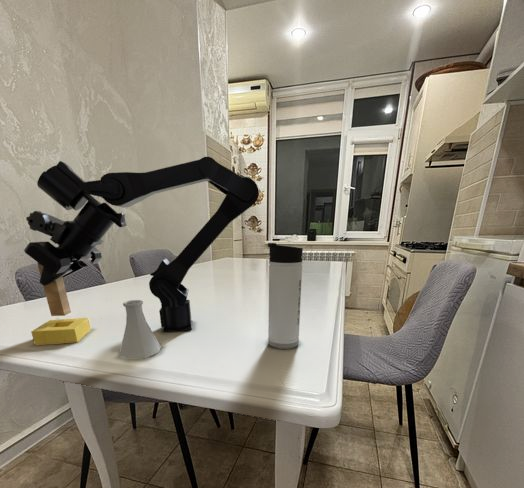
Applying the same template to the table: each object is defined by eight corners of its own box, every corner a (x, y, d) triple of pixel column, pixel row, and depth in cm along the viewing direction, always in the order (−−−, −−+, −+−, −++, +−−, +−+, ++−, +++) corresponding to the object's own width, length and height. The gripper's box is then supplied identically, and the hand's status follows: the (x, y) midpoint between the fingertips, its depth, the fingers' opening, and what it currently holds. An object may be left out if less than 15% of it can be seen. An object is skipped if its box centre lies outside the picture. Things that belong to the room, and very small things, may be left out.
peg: (71, 312, 66) (56, 253, 62) (64, 315, 64) (49, 254, 59) (58, 312, 66) (43, 253, 62) (51, 316, 64) (34, 255, 59)
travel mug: (262, 340, 62) (262, 242, 55) (289, 336, 64) (292, 241, 57) (274, 351, 56) (276, 244, 49) (304, 346, 59) (310, 243, 52)
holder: (91, 329, 68) (88, 317, 67) (77, 342, 61) (74, 329, 60) (53, 332, 67) (49, 319, 66) (34, 345, 59) (30, 331, 58)
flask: (147, 362, 52) (139, 308, 48) (111, 358, 53) (101, 305, 50) (167, 346, 59) (161, 298, 55) (135, 344, 60) (127, 296, 56)
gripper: (76, 201, 66) (38, 252, 69) (20, 191, 48) (-28, 260, 51) (118, 237, 69) (80, 284, 72) (80, 241, 52) (32, 303, 55)
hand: (46, 282), depth 62 cm, fingers closed on peg, 3 cm apart
